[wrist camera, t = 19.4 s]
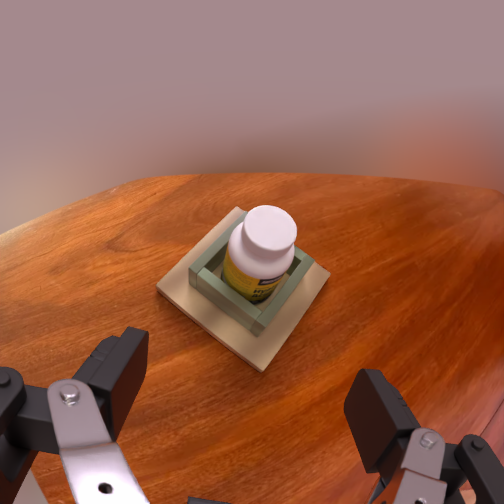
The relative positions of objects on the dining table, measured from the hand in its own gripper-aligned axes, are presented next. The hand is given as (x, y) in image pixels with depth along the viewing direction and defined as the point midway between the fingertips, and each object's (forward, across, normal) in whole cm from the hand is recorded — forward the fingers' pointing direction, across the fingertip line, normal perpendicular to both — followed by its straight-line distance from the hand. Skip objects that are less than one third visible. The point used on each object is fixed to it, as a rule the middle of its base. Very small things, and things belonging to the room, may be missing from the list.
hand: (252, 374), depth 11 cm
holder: (+21, 0, +4) cm, 21 cm away
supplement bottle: (+20, 0, +3) cm, 20 cm away
